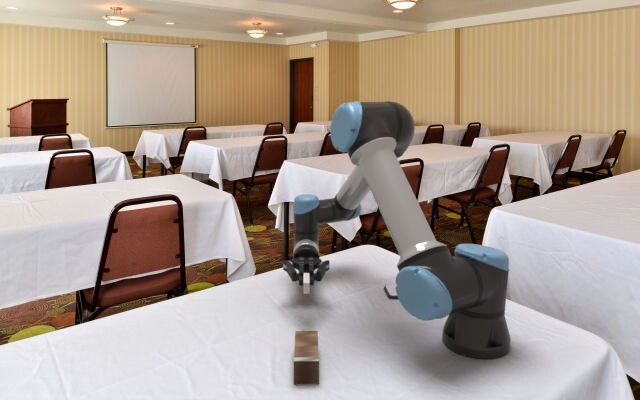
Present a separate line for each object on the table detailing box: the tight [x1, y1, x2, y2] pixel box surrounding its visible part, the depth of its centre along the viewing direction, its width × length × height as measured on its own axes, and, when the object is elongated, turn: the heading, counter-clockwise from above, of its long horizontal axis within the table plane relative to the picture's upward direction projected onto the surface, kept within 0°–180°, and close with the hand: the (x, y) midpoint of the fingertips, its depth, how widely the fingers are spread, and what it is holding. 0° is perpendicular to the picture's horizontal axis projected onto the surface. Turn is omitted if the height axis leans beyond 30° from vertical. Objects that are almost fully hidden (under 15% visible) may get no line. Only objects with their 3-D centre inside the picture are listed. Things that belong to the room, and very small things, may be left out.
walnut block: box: [293, 330, 320, 385], centre depth 105 cm, size 5×5×13 cm
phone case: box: [383, 284, 399, 300], centre depth 145 cm, size 9×2×16 cm
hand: (306, 288), depth 119 cm, fingers closed
